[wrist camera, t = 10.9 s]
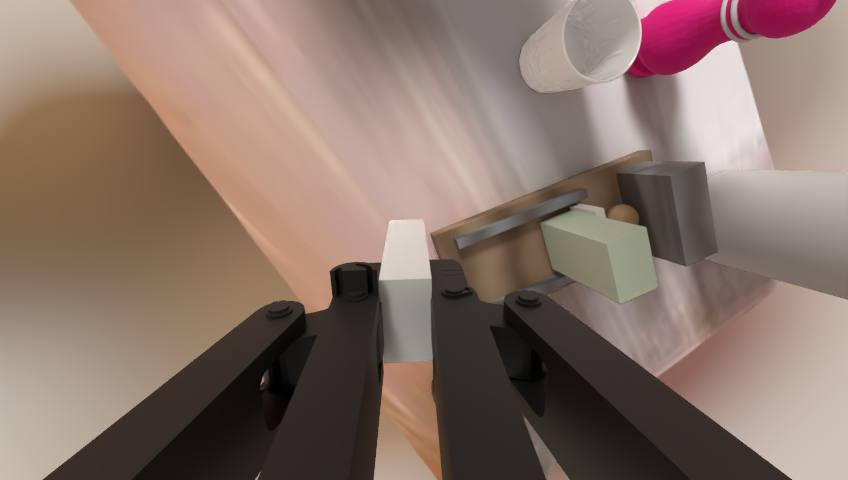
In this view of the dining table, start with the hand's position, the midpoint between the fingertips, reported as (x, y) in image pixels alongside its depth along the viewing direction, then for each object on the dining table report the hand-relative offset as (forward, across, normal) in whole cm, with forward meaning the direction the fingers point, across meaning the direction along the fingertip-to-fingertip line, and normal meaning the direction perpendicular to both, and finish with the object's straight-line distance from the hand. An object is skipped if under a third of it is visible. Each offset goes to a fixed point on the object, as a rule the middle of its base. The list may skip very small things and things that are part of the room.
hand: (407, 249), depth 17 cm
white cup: (+31, +16, +11) cm, 37 cm away
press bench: (+29, +17, -9) cm, 35 cm away
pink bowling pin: (+33, +28, +12) cm, 45 cm away
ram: (+27, +18, -9) cm, 34 cm away
